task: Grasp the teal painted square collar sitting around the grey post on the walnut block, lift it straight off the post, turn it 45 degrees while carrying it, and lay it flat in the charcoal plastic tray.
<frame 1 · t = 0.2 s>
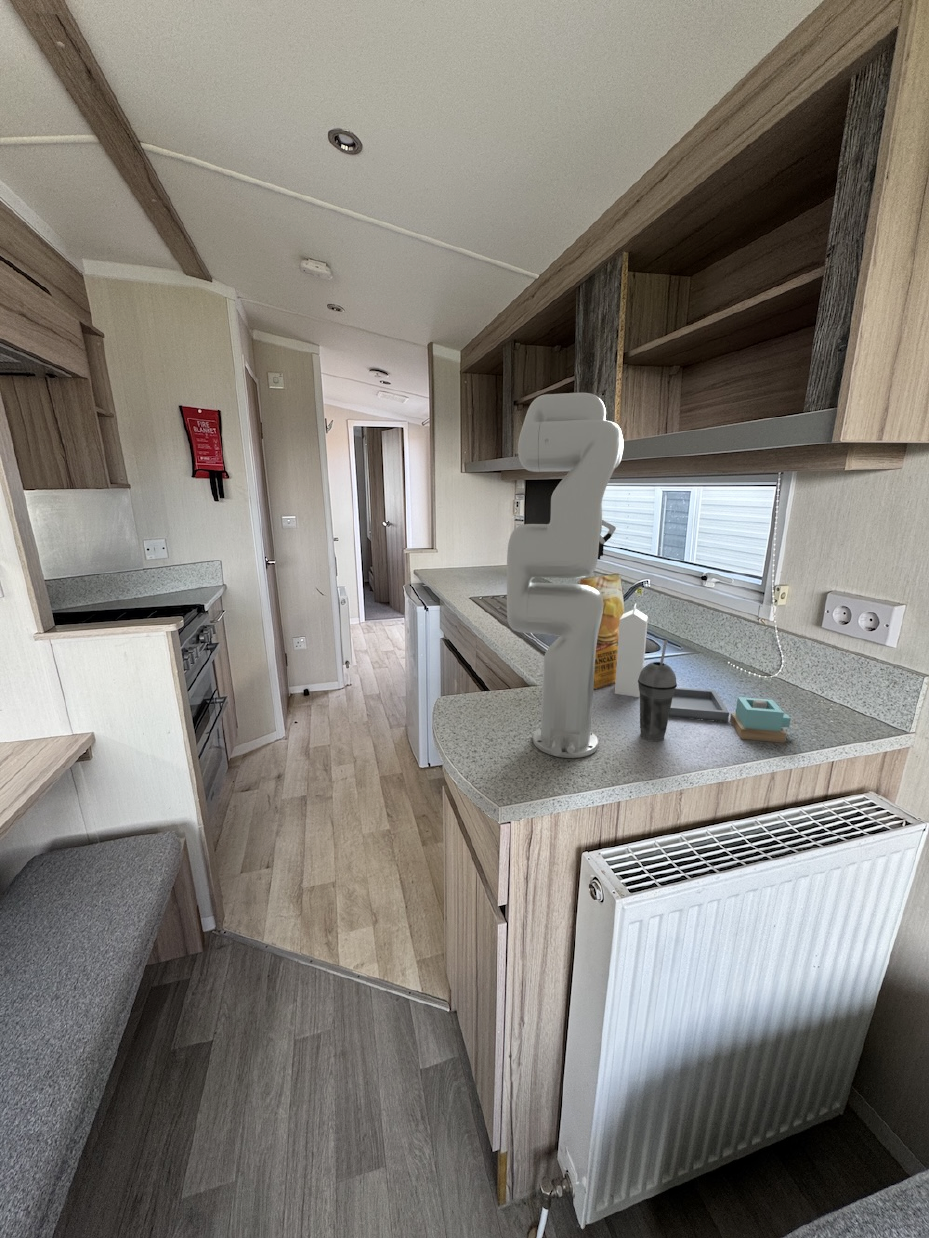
hand: (579, 558, 134), 31 cm above the worktop, tool pointing down, fingers open, 9 cm apart
milk: (628, 692, 126), on the worktop
wooden peg base: (756, 731, 104), on the worktop
pancake mix bag: (598, 682, 132), on the worktop
collar: (757, 722, 104), point 2 cm above the worktop, touching wooden peg base
tray: (689, 707, 116), on the worktop
beverage cup: (652, 737, 102), on the worktop
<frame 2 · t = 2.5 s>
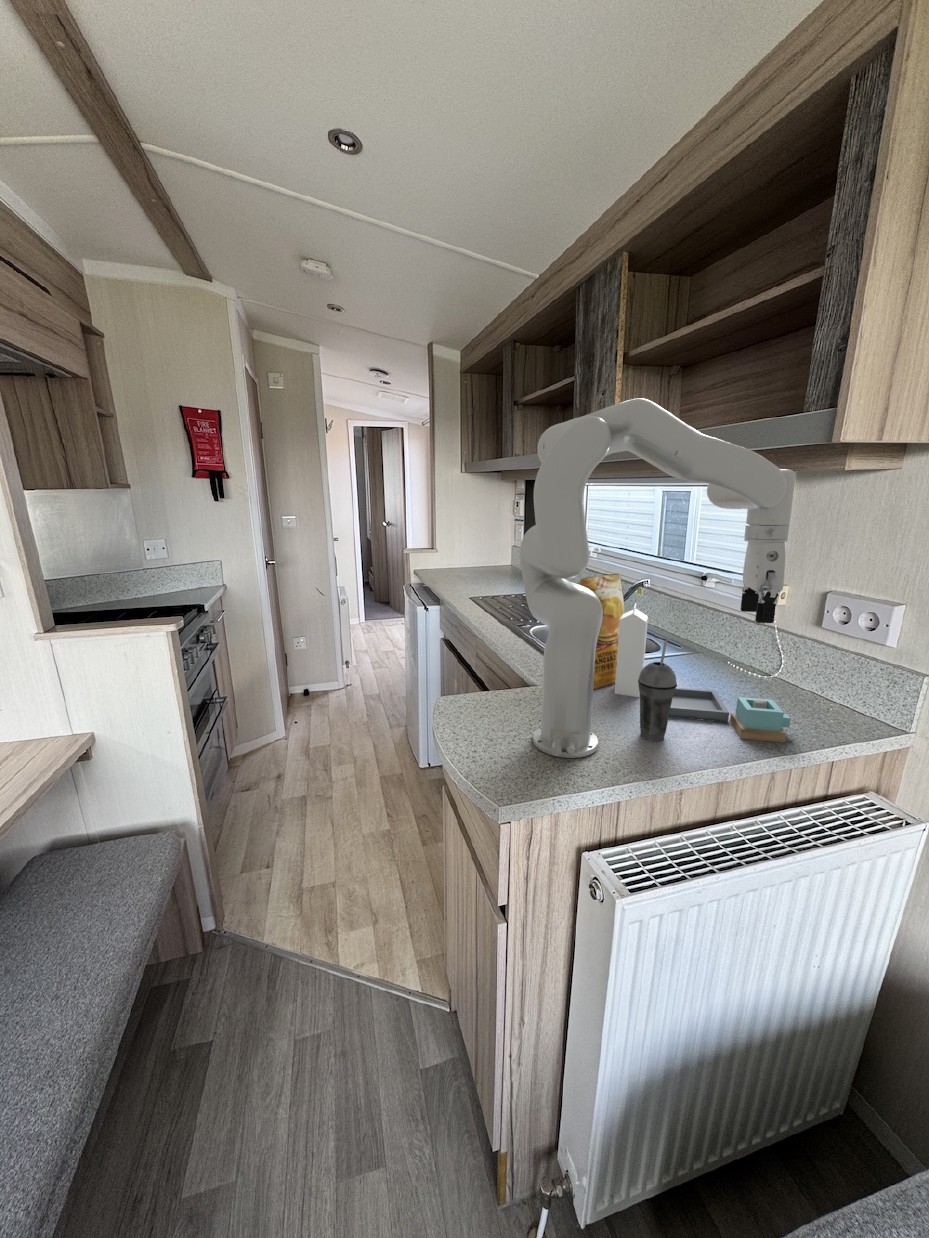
hand: (756, 616, 105), 23 cm above the worktop, tool pointing down, fingers open, 9 cm apart
nothing on the worktop moved.
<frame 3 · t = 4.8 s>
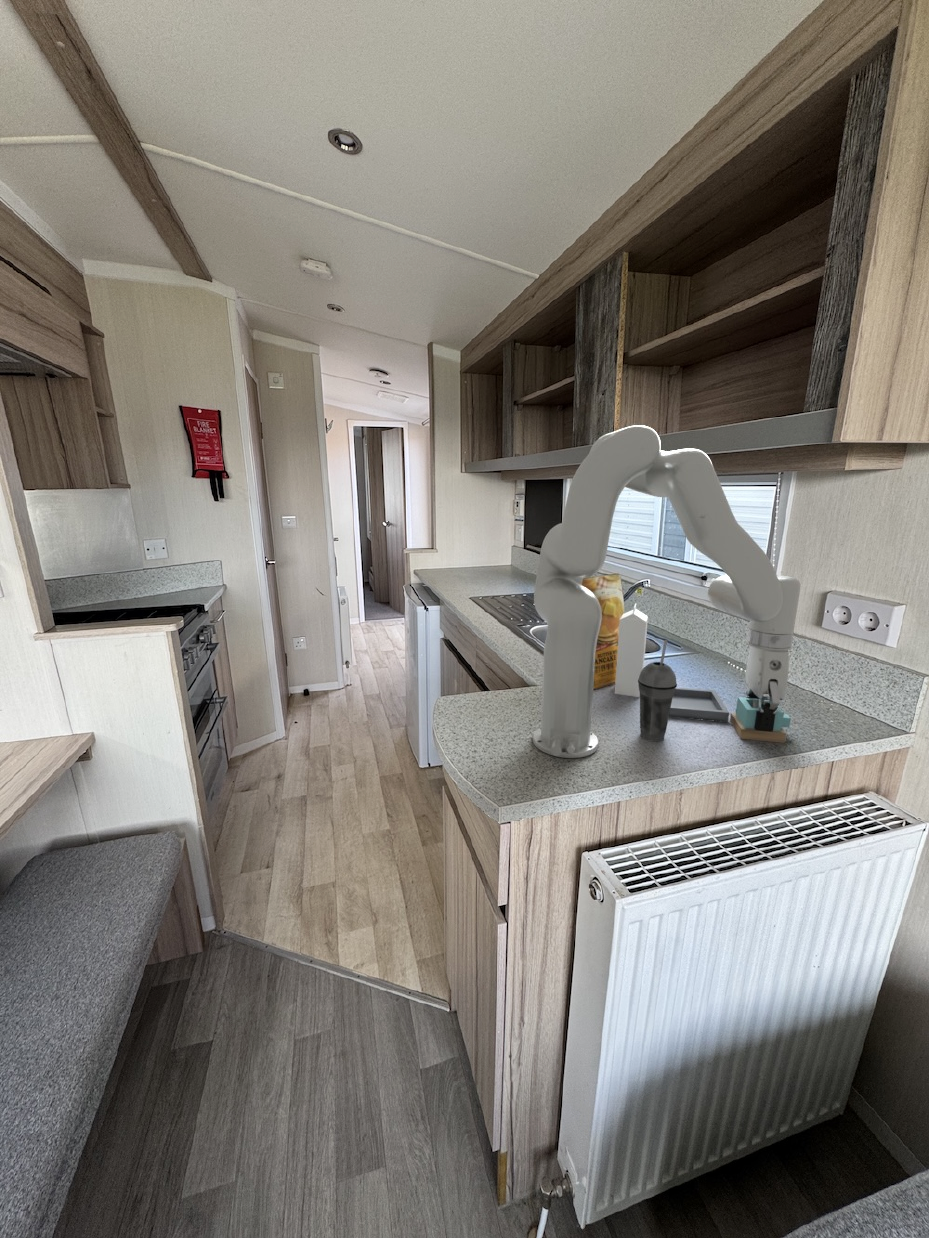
hand: (757, 721, 104), 2 cm above the worktop, tool pointing down, fingers closed on collar, 6 cm apart
collar: (757, 722, 104), point 2 cm above the worktop, touching gripper, wooden peg base
everything else where it was.
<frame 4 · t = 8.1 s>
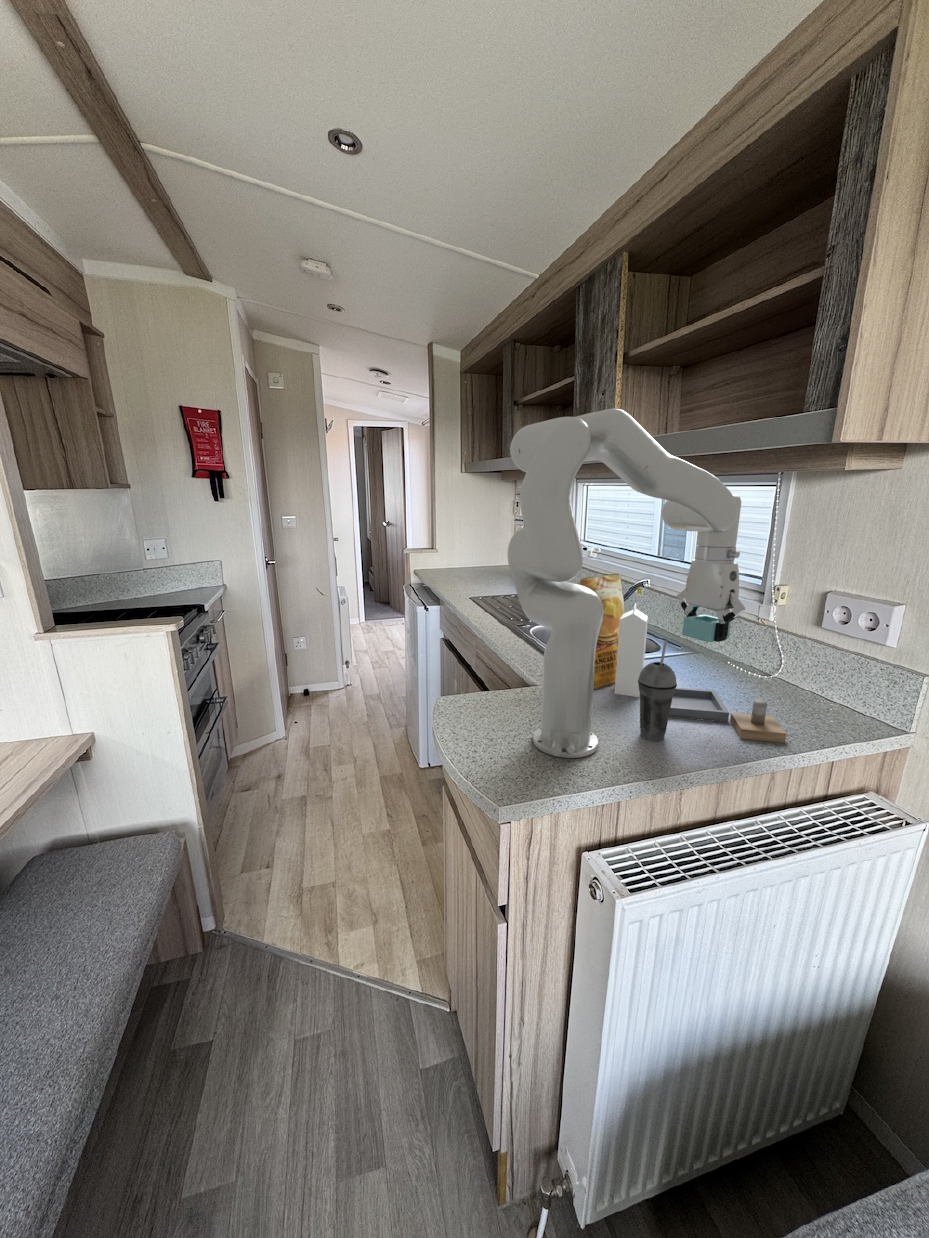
hand: (705, 635, 111), 17 cm above the worktop, tool pointing down, fingers closed on collar, 6 cm apart
collar: (705, 636, 111), point 17 cm above the worktop, touching gripper
everything else where it was.
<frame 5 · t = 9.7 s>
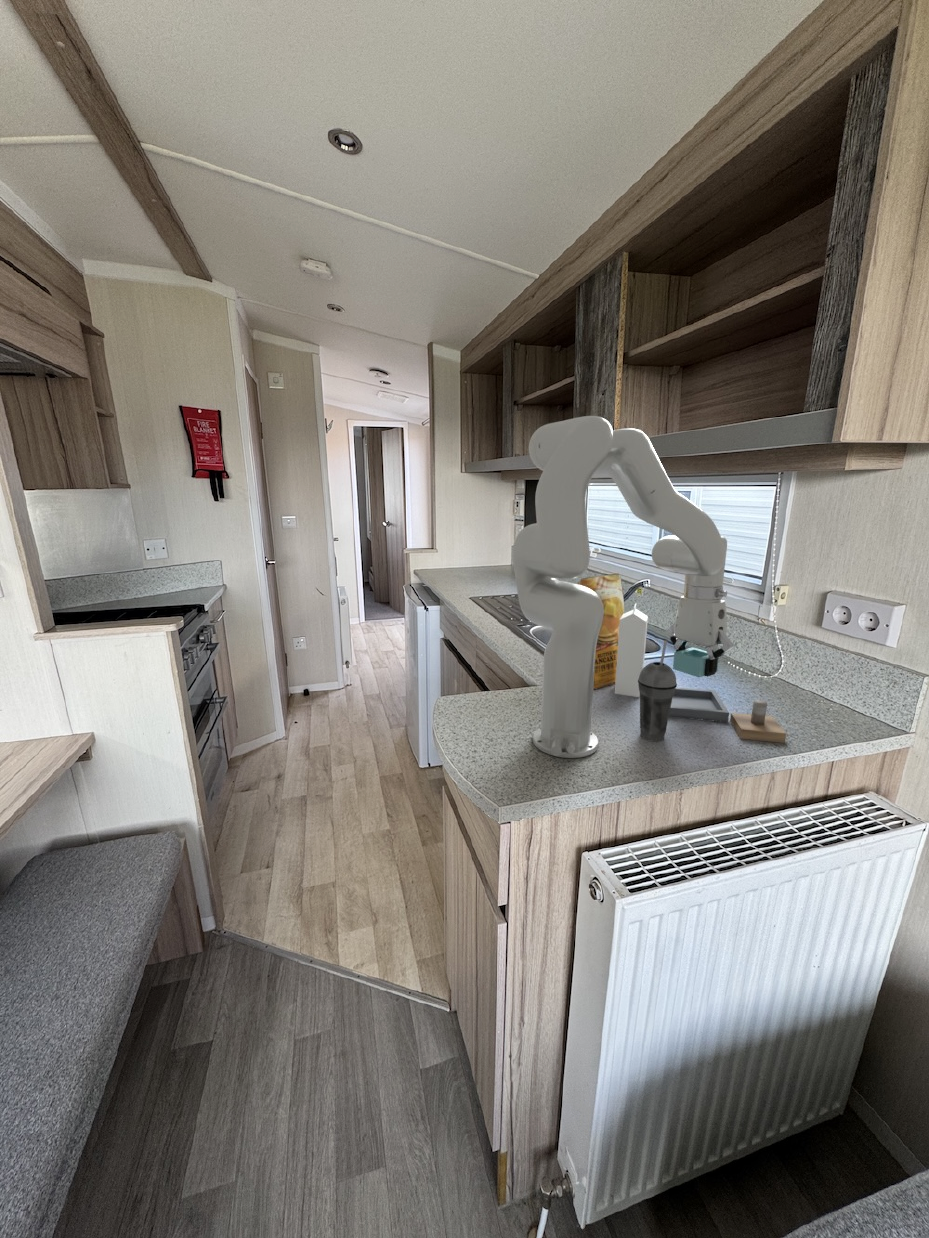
hand: (694, 669, 114), 9 cm above the worktop, tool pointing down, fingers closed on collar, 6 cm apart
collar: (694, 670, 114), point 9 cm above the worktop, touching gripper
everything else where it was.
when the fingers open (2 cm above the worktop, at t = 11.2 s): collar drops 2 cm, resting on tray.
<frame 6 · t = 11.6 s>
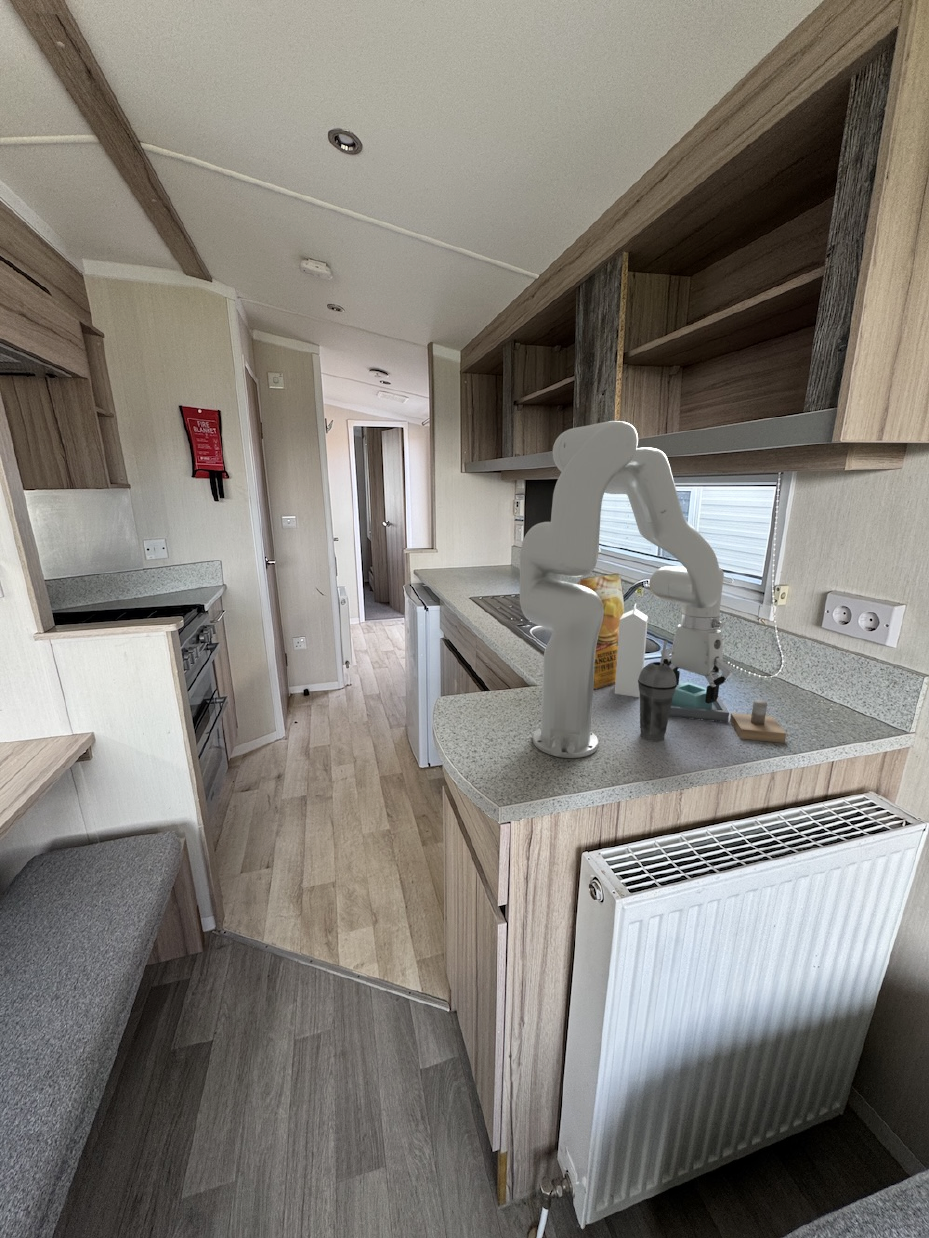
hand: (691, 694, 115), 3 cm above the worktop, tool pointing down, fingers open, 9 cm apart
collar: (689, 705, 116), resting on tray
everything else where it was.
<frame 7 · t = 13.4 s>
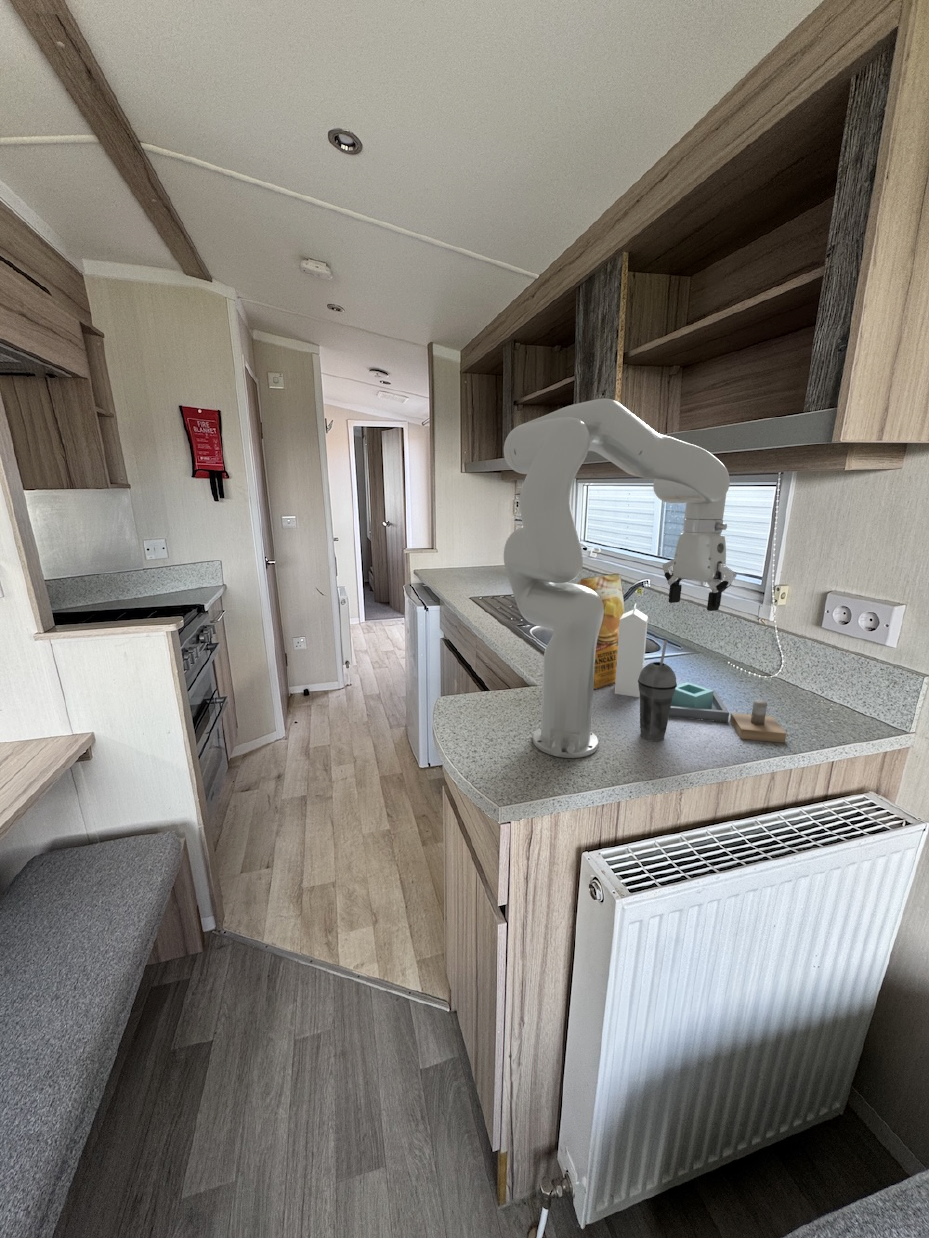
hand: (692, 606, 112), 23 cm above the worktop, tool pointing down, fingers open, 9 cm apart
nothing on the worktop moved.
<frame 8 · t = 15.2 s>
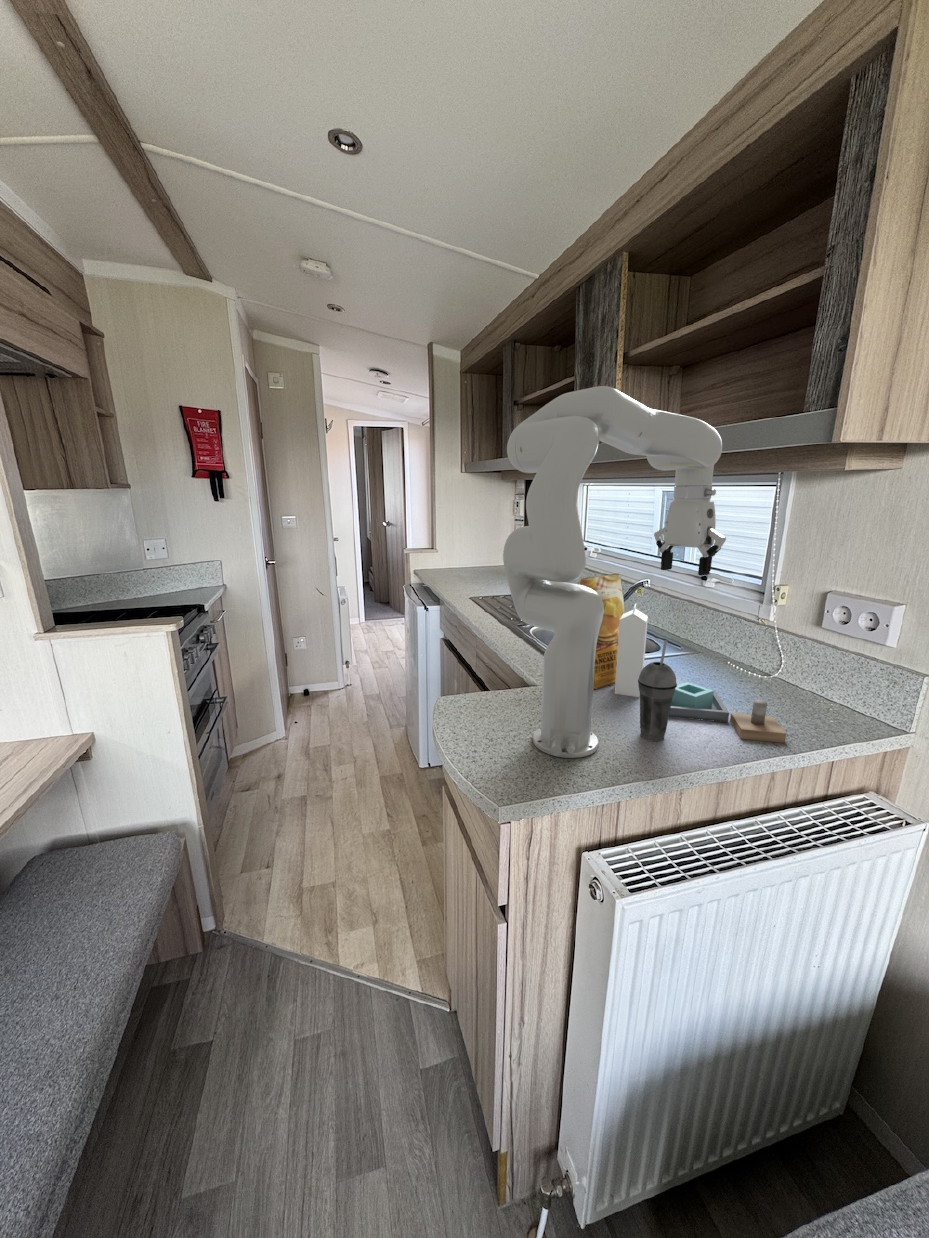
hand: (684, 572, 115), 30 cm above the worktop, tool pointing down, fingers open, 9 cm apart
nothing on the worktop moved.
at the end: collar inside the target area on the tray (0.1 cm from its centre), point 0.5 cm above the tray's base; collar tilted 0°; the gripper is holding nothing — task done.
